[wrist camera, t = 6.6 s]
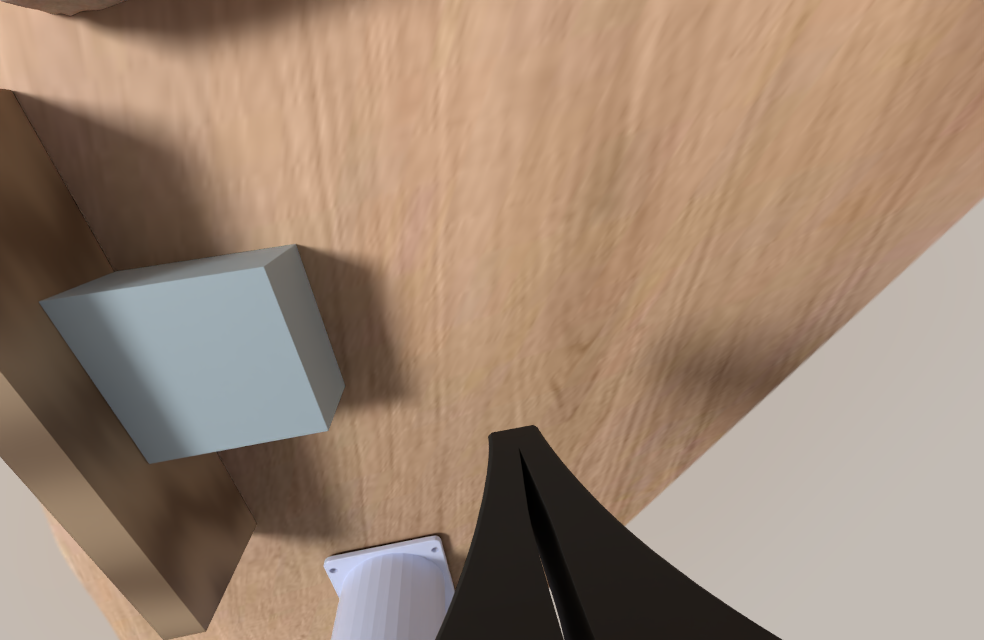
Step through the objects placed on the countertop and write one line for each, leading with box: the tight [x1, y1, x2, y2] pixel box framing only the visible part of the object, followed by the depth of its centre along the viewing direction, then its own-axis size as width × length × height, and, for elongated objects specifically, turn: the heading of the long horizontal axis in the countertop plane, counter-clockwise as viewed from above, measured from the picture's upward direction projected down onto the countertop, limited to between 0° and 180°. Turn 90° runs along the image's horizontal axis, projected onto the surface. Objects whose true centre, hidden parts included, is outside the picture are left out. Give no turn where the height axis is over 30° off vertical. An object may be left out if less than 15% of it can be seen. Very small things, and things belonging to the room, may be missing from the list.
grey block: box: [39, 244, 345, 464], centre depth 18 cm, size 8×8×4 cm
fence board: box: [0, 89, 257, 640], centre depth 17 cm, size 24×2×6 cm, turn 7°
